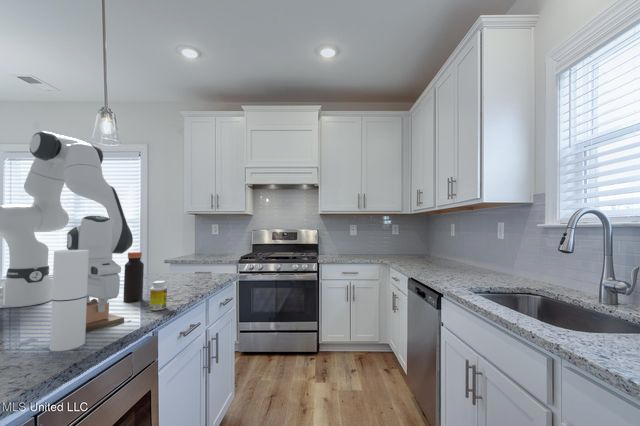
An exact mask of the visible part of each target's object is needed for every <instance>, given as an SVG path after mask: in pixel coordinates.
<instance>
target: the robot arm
mask: <svg viewBox="0 0 640 426" xmlns="http://www.w3.org/2000/svg"><path fill="white" fill-rule="evenodd" d="M29 151H30V153H31V155H32V156H34V160H33V161H32V164H31V166H30V168H29V171H28V173H27V176H26V178H25V182H24V183H23V190H24V191H25V192H26V193H27V195H29V196H31V197H32V198H33V203H32V204H19V203H18V204H17V203H15V204H14V203H9V204H0V236H2V238H3V239H4V240H5V242H6V244H7V246H8V250H9V251H8V252H9V253H8V254H9V267H8V268H7V271H6V273H5V275H6V276H5V280H4V281H3V282H2V283H1V284H0V309H5V308H6V309H7V308H18V307H19V308H20V307H21V308H22V307H29V306H35V305H39V304H40V305H42V304H44V303H48V302H50V301H51V302H52V286H53V277H52V278H51V277H50V275H49V274H50V266H49V247H48V245H46V244H45V243H44V242H42V241H39V240H38V239H37V237H36V235H35V233H51V232H56V231H60V230H63V229H65V228H66V227H67V226H68V224H69V220H70V217H69V214H68V212H67V211H66V209H64V207H63V206H62V202H61V196H62V195H61V194H62V191H63V188H64V185H65V186H66V188H67V189H68V190H69V191H71V192H72V193H74V194H76V195H77V196H79V197H82V198H86V199H88V200H91V201H94V202H96V203H99V204H100V205H102V206H103V208H105V210H106V213H107V216H108V217H107V216H104V215H103V216H102V215H87V216H84V217H81V222H80V225H79V226H74V227H73V228H72V229H70V230H69V231H68V232H67V235H66V236H67V238H66V239H67V241H66V242H67V243H66V250H89V256H88V281H87V302H90V301H91V300H90V298H94V299H97V300H98V301H99V304H98V306H96V311H97V312H104V311H105V305H106V303H107V302H108V301H109V300H112V299H113V300H114V299H116V298H118V296H119V293H120V285H121V277H120V273H121V272H122V267H121V265H119V264H118V263H116V262H115V261H114V260H113V254H124V253H125V252H127V251H128V250H129V249H130V248H131V247H132V245H133V242H134V239H133V238H134V237H133V233H132V231H131V228H130V227H129V225H128V223H127V220H126V217H125V214H124V210H123V207H122V203H121V201H120V198H119V195H118V193H117V191H116V189H115V187H113V186H112V185H110V184H109V182H107V180H106V179H105V177H104V175H103V169H102V163H103V162H104V161H103V160H104V154H103V151H102V149H101V148H100V147H98V146H97V145H94V144H91V143H87V142H86V141H83V140H80V139H77V138H74V137H69V136H65V135H60V134H56V133H54V132H50V131H41V130H39V131H38V132H36V133H34V134H33V135H32V137H31V139H30V142H29Z"/></svg>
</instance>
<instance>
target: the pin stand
mask: <svg viewBox="0 0 640 426" xmlns="http://www.w3.org/2000/svg"><path fill="white" fill-rule="evenodd" d="M97 300H98V298H92V299H91V300H90V301H91V302H90V305H95V304H97ZM124 322H125V317H124V316H120V315H116V314H112V313H109V318H107V319H103V320H99V321H95V322H91V323H88V324H86V331H85V334H87V333H91V332H94V331H97V330H101V329H103V328H109V327H112V326H115V325H118V324H123V323H124Z"/></svg>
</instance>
